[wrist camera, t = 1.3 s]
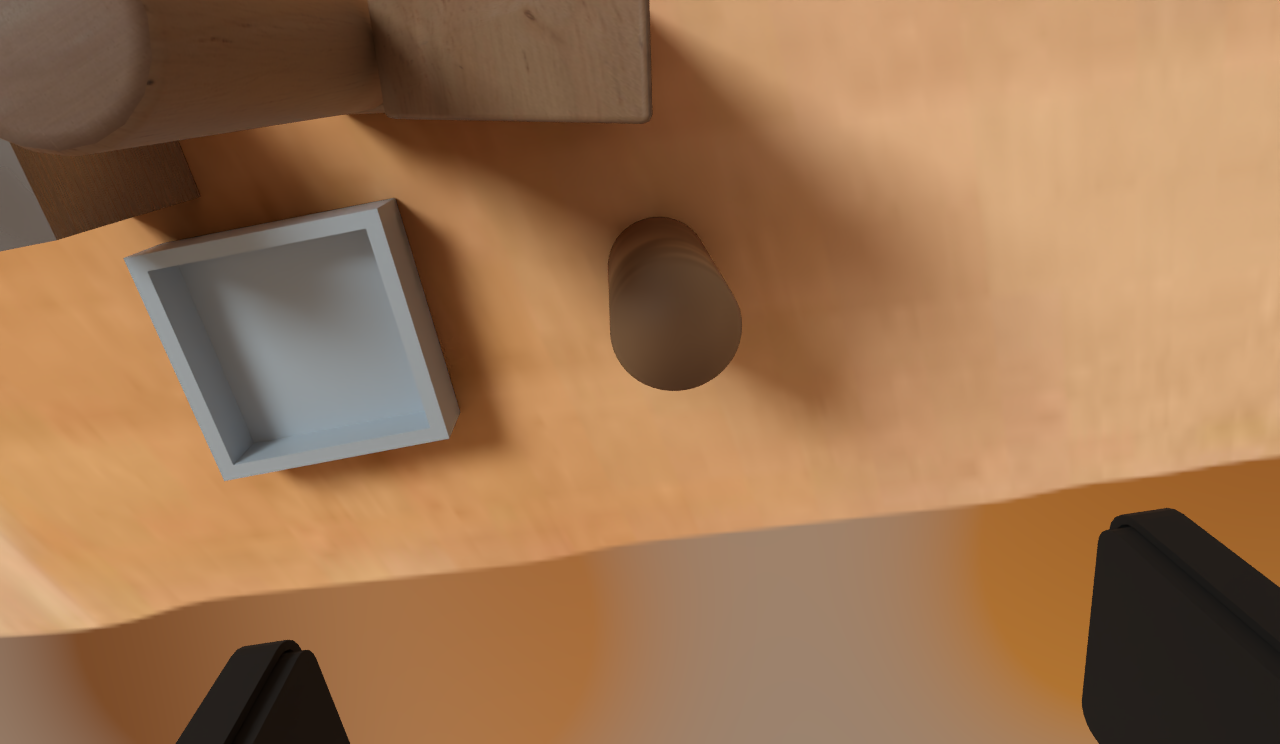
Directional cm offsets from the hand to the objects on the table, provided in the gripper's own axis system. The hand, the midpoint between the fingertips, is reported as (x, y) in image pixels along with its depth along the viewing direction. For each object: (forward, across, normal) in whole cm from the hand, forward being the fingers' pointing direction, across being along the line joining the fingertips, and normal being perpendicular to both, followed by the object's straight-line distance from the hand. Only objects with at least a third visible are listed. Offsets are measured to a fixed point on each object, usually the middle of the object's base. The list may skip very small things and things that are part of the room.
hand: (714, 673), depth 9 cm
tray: (+22, +13, +1) cm, 26 cm away
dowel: (+22, -1, +1) cm, 23 cm away
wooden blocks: (+23, +5, -8) cm, 25 cm away
